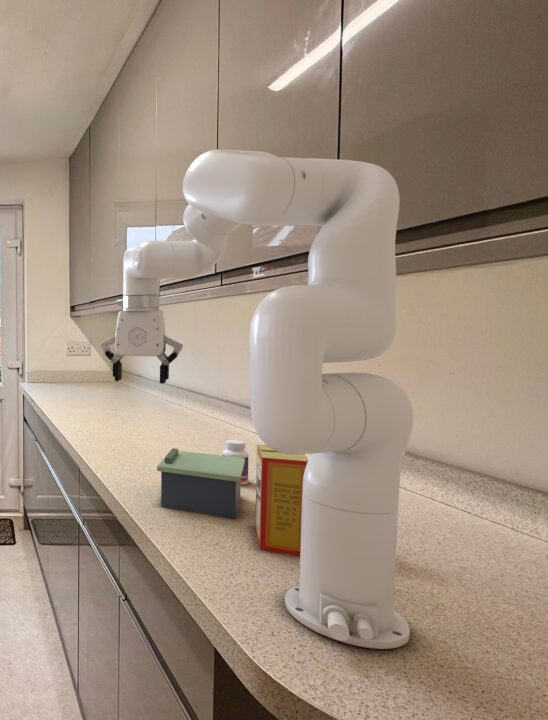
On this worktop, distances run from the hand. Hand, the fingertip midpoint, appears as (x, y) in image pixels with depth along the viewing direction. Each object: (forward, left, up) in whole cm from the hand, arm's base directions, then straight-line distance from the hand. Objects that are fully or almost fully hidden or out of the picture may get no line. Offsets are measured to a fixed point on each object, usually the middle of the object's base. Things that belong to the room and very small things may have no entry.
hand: (140, 381), depth 110 cm
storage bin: (0, -13, -25) cm, 28 cm away
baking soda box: (-14, -27, -25) cm, 39 cm away
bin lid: (0, -13, -18) cm, 22 cm away
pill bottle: (+18, -18, -25) cm, 36 cm away
